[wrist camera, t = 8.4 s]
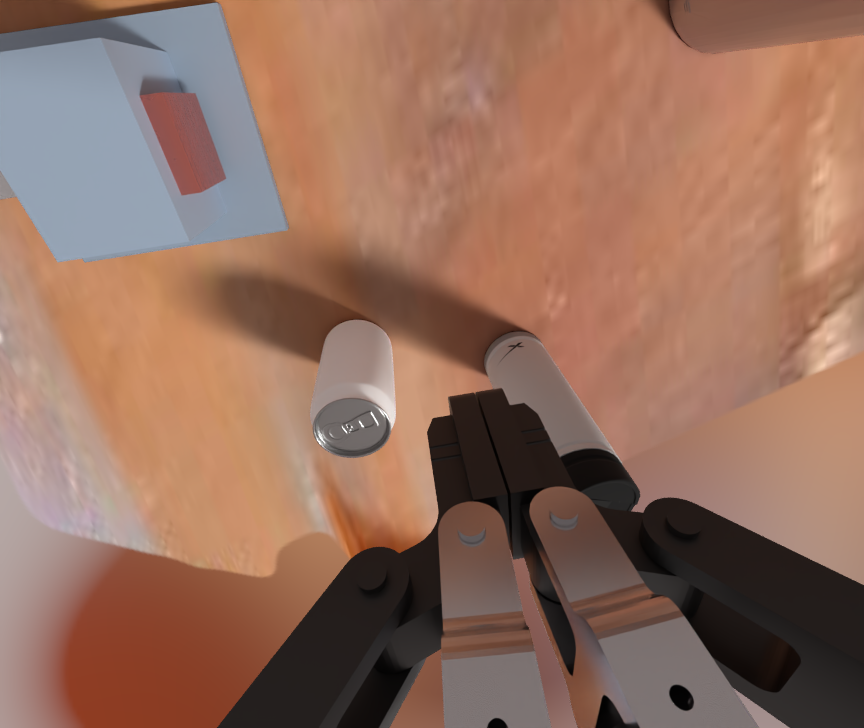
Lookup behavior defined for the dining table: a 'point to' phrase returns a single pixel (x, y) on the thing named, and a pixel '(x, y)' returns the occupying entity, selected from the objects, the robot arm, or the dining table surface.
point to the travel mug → (560, 418)
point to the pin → (176, 142)
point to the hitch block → (128, 134)
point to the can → (354, 390)
